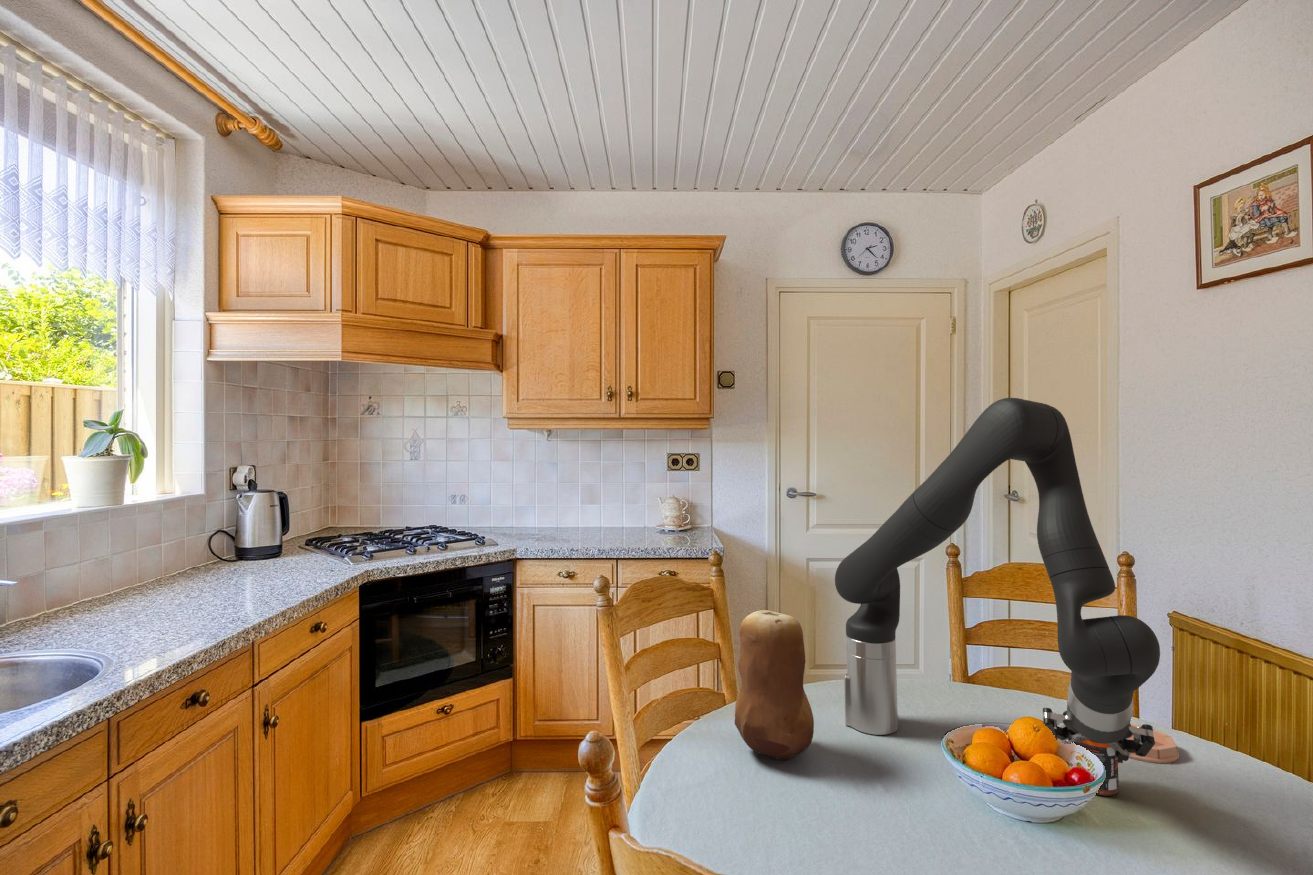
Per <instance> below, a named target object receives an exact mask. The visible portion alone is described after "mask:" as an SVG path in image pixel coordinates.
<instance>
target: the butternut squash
mask: <svg viewBox="0 0 1313 875" xmlns="http://www.w3.org/2000/svg"><path fill="white" fill-rule="evenodd" d="M739 641H740V642H739V644H740V645H739V646H740V648H739V654H740V655H739V659H738V663H737V667H738V672H739V675H740V680H741V681H740V687H739V691H738V693H737V695H736V700H735V706H734V707H735V708H734V725H735V727H736V729H737V731H738V733H739V734H740V737H741V739H742V740H743V741H744V743H745V744H746V745H747V747H749V749H750V750H752V751H753V752H756V753H758V754H761V755H765V756H767V757H770V758H771V759H772V758H773V759H772V760H775V759H780V760H779V761H781V760H782V761H783V760H784V761H788V760H789V759H790V758H792V757H795V756H798V755H800V754H802V753H803V752H805V751H806V750H807V749H808V748H809V746H811V743H812V741H813V738H814V733H815V732H814V730H815V721H814V719H815V718H814V714H813V709H812V707H811V704H810V702H809V699H808V696H807V694H806V691H805V689H804V677H805V676H804V674H805V670H806V669H805V668H806V650H805V642H804V641H805V640H804V632H803V628H802V625H801V623H800V621H798V620H797V618H795V617H793V616H792V615H788V614H785V613H782V612H781V613H780V612H777V611H773V610H770V609H769V610H767V609H762V610H756V611H754V612H753V611H752V613H750V614H748V615H747V616H746V617H744V618H743V620H742V621H741V624H740V628H739Z"/></svg>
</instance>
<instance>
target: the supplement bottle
mask: <svg viewBox="0 0 1313 875" xmlns="http://www.w3.org/2000/svg"><path fill="white" fill-rule="evenodd" d="M1074 743H1075V742H1074ZM1075 744H1076V745H1080V746H1082V747H1084V748H1086V750H1089V751H1090V752H1091V753H1092V754H1094V755H1096V756H1097V757H1098V758H1099V759H1100V761H1101V762H1102V763H1103V765H1104V766H1105V770H1106V778H1105V780H1104V782H1103V784H1102V785H1101V786H1100V788H1099V790H1098V794H1097V795H1099V796H1108V797H1109V796H1114V795H1116V794H1118V793H1119V791H1120V790H1119V789H1120V788H1119V787H1120V783H1119V782H1120V781H1119V763H1118V754H1117V750H1114V749H1113V748H1112V747H1111V746H1110V745H1109V744H1108V743H1099V742H1095V741H1092V740H1087V739H1086V740H1084V741H1082V742H1080V743H1075Z"/></svg>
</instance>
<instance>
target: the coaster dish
mask: <svg viewBox="0 0 1313 875" xmlns="http://www.w3.org/2000/svg"><path fill="white" fill-rule="evenodd" d="M1130 724H1131V726H1132V727H1140V728H1141V726H1142V725H1143V724H1141V725H1140V724H1134V723H1130ZM1153 734H1154V740H1155V745H1154V746H1153V747H1152V749H1151V750H1150V751H1149V752H1148V754H1147V755H1146V756H1145V757H1141V756H1137V755H1136V753H1130V755H1129V758H1128V759H1133V760H1137V761H1141V762H1147V763H1151V764H1171V763H1175V762H1177V761H1179V759H1180V751H1179V750H1178V746H1177V743H1176V742H1175V740H1174V738H1173V736H1171V735H1169V734H1166V733H1165V732H1162V731H1159V730H1157V729H1155V728H1153ZM1133 738H1134V736H1133V735H1132V736H1131V737H1130V738H1128V740H1134V739H1133Z"/></svg>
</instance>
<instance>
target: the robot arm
mask: <svg viewBox="0 0 1313 875" xmlns="http://www.w3.org/2000/svg"><path fill="white" fill-rule="evenodd" d="M1075 457H1076V456H1075V451H1074V448H1073V442H1072V438H1071V433H1070V429H1069V426H1068V423H1067V420H1066V418H1065V417H1064V415H1063V414H1062V412H1061V411H1060V410H1058V409H1057V408H1056V407H1053V406H1052V405H1049V404H1046V403H1043V402H1038V401H1034V400H1033V401H1032V400H1028V399H1023V398H1019V397H1005V398H1000V399H997V400H995V401H994V402H993V403H991V404H990V405H988V406H987V408H985V409H984V410H983V411H982V412H981V414H980V415H979V416H978V417H977V418H976V420H975V421H974V422H973V424H972V425H971V426H970V428H969V429H968V430H967V431H966V433H965V434H964V435H963V436H962V438H961V439H960V440H959V442H958V443H957V445H956V446H955V447H954V448H953V449H952V451H951V452H950V454H948V455H947V457H946V458H944V460H943V461H942V462H941V463H940V464H939V465H938V466H937V467H936V468H935V470H934V471H932V473H931V474H930V475H929V476H928V477H927V478H926V479H925V481H923V482H922V483H921V484H920V485H919V486H918V487H917V488H916V489H915V490H914V491H913V492H912V493H911V494H910V495H909V496H908V497H907V498H906V499H905V500H904V502H903V503H901V505H900V506H899V507H898V508H897V509H896V511H895V512H894V513H893V514H892V515H891V516H889V517H888V518H887V519H886V520H885V521H884V523H883V524H881V526H879V528H878V529H877V530H876V531H875V532H874V534H872V535H871V537H869V538H868V539H867V540H866V541H865V542H864V543H862V544H861V545H860V546H858V547H857V548H856V549H854V551H852V552H850V553H849V554H848V555H847V556H846V557H844V559H842V560H841V562H840V563H839V564H838V566H837V569H836V571H835V573H834V574H835V575H834V586H835V589H836V591H837V593H838V595H839V596H840V597H841V598H842V599H843V600H844V601H846V602H849V603H850V604H851V603H852V604H857V605H859V607H858V609H857V610H856V611H855V612H854V613H853V614H852V615H851V616H850V617H848V618H847V620H846V622H845V640H846V641H845V642H846V645H845V646H846V648H845V650H846V674H845V675H844V679H843V681H844V713H845V714H844V715H845V716H844V717H845V722H844V723H845V726H847V727H851V728H853V729H855V730H857V731H859V732H861V733H864V734H870V735H874V736H875V735H876V736H877V735H879V736H883V735H885V736H887V735H890V734H894V733H895V732H897V731H898V729H899V722H898V721H899V713H898V711H899V710H898V679H897V677H898V676H897V643H896V641H897V639H896V634H897V633H896V632H897V631H896V630H897V628H898V626H899V623H900V616H901V615H900V614H901V613H900V612H901V611H900V610H901V579H900V573H899V570H898V568H899V567H902V565H905V564H907V563H908V562H910V561H913V560H915V559H916V558H918V557H921V556H923V555H925V554H926V553H928V552H930V551H932V550H933V549H935V548H937V547H938V546H940V545H941V544H942V543H943V542H945V541H946V540H947V539H948V538H950V537H951V536H952V535H953V534H954V533H956V531H957V530H959V529H960V528H961V527H963V525H964V524H965V522H966V521H967V520H968V518H969V516H970V514H971V512H972V509H973V506H974V501H975V497H976V492H977V489H978V488H979V486H980V485H981V484H982V482H983V481H985V479H987V477H988V476H989V475H991V474H992V472H993V471H995V470H996V469H997V468H998V467H1000V466H1001V465H1003V464H1004V463H1005V462H1007V461H1009V460H1015V461H1020V462H1024V463H1025V465H1026V466H1027V468H1028V469H1029V471H1030V473H1031V475H1032V477H1033V480H1034V482H1035V486H1036V488H1037V494H1038V515H1037V522H1036V523H1037V524H1036V537H1037V538H1036V539H1037V545H1038V549H1039V553H1040V555H1041V559H1042V561H1043V564H1044V566H1045V570H1046V572H1047V575H1048V578H1049V580H1050V584H1051V587H1052V592H1053V596H1054V599H1055V600H1054V602H1055V605H1056V606H1055V607H1056V618H1057V621H1056V622H1057V630H1056V631H1057V647H1058V652H1059V656H1060V658H1061V660H1062V661H1063V664H1064V665H1065V666H1066V667H1067V668H1068V669H1069V670H1070V671H1071V673H1070V674H1071V675H1070V682H1069V683H1068V684H1069V685H1068V688H1067V703H1066V705H1067V706H1066V710H1065V711H1063V713H1062V714H1061V713H1056V712H1053V710H1052V708H1049V707H1043V708H1042V719H1043V721H1042V722H1043V725H1044V724H1045V726H1047V727H1048V728H1049V729H1050V730H1051V731H1052V733H1053V735H1055V738H1056V740H1055V741H1057V740H1060V742H1061V741H1062V743H1064V744H1071V742H1072V743H1073V742H1075V743H1080V742H1082V741H1084V740H1086V739H1087V740H1092V741H1095V742H1099V743H1108V744H1109V745H1110V746H1111V747H1112V748H1113V749H1114V750H1117V754H1118V764H1123V761H1125V762H1127V761H1129V759H1130V758H1129V755H1130V753H1136V755H1137V756H1141V757H1145V756H1146V755H1147V754H1148V752H1149V751H1150V750H1151V749H1152V747H1153V746H1154V745H1155V740H1154V734H1153V729H1154V728H1153V725H1151V724H1146V723H1145V724H1141V725H1142V726H1141V728H1140V727H1132V726H1131V724H1132V723H1131V720H1132V718H1133V715H1134V699H1133V697H1134V693H1135V691H1137V690H1138V689H1139V688H1140V687H1142V686H1143V684H1145V683H1146V682H1147V681H1148V680H1149V679H1150V678H1151V677H1152V676H1153V674H1155V672H1157V671H1156V670H1157V669H1158V666H1159V664H1160V659H1161V649H1160V643H1159V640H1158V636H1156V634H1155V632H1154V631H1153V630H1152V628H1151V627H1150V626H1149V625H1148V624H1147V623H1146V622H1144V621H1143V620H1141V619H1139V618H1137V617H1135V616H1131V615H1125V614H1124V615H1123V614H1120V615H1110V616H1102V617H1100V616H1099V617H1092V618H1084V619H1083V618H1082V608H1083V607H1084V606H1085V605H1086V604H1089V603H1091V602H1095V601H1097V600H1101V599H1103V598H1107V597H1109V596H1111V595H1112V594H1113V593H1114V592H1115V590H1116V582H1115V580H1114V578H1113V575H1112V574H1113V573H1111V570H1110V567H1109V564H1108V563H1107V562H1108V561H1107V559H1106V557H1105V554H1104V553H1103V549H1102V547H1101V545H1100V543H1099V540H1098V537H1097V535H1096V532H1095V530H1094V527H1093V524H1092V522H1091V518H1090V515H1089V512H1088V508H1087V504H1086V502H1085V497H1084V492H1083V488H1082V485H1081V479H1080V476H1079V475H1080V474H1079V471H1078V466H1077V461H1076V458H1075ZM1060 724H1062V725H1061V726H1059V725H1060ZM1132 735H1133V736H1134V738H1133V739H1134V740H1128V738H1130V737H1131V736H1132ZM1066 740H1068V742H1067V741H1066Z"/></svg>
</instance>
